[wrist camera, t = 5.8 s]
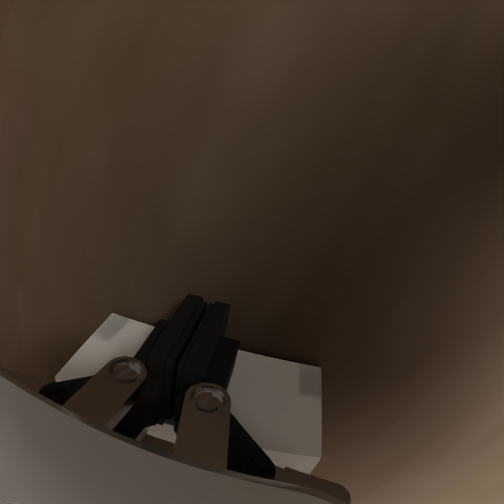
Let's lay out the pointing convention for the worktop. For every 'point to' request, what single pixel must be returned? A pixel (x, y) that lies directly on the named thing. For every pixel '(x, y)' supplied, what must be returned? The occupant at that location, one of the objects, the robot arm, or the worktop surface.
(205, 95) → the worktop surface
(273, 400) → the rack
